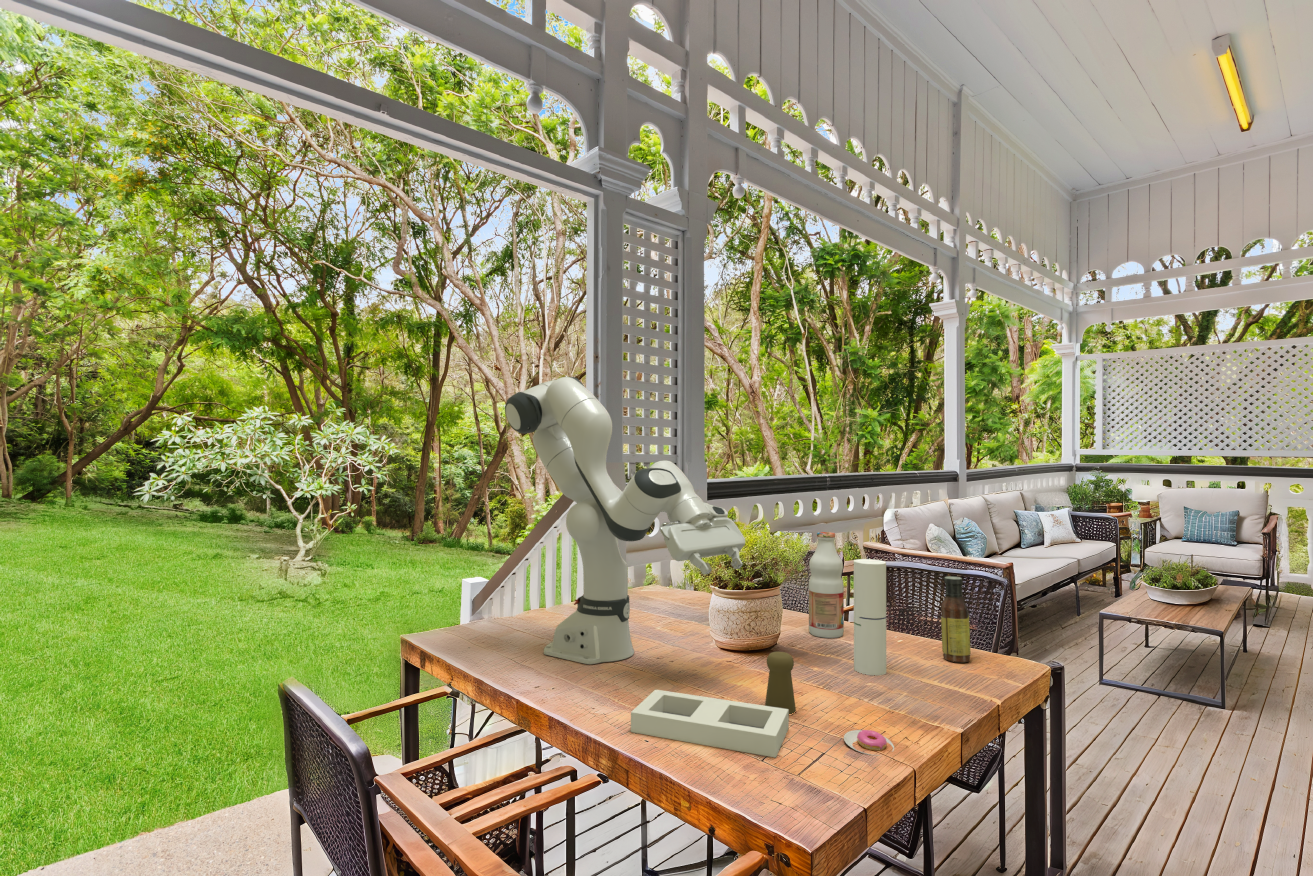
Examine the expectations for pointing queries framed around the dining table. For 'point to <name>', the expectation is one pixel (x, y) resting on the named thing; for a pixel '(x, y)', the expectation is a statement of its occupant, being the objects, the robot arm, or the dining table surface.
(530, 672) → the dining table surface
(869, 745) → the donut
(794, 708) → the olive knobbed peg
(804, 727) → the dining table surface
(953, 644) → the sauce bottle
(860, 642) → the cylindrical container
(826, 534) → the fruit juice
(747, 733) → the socket rail
